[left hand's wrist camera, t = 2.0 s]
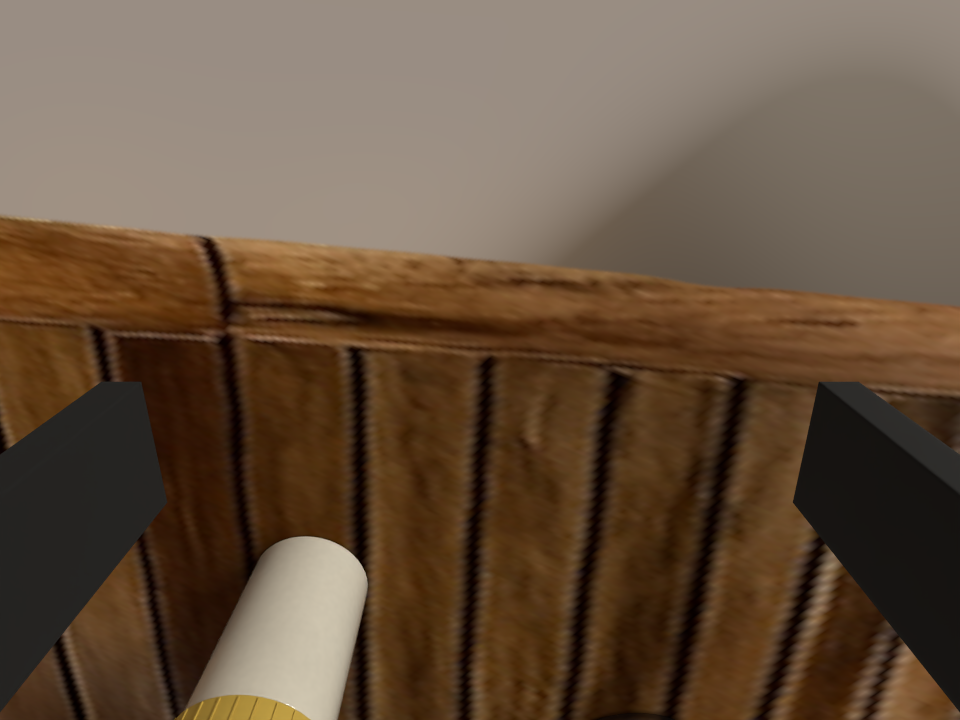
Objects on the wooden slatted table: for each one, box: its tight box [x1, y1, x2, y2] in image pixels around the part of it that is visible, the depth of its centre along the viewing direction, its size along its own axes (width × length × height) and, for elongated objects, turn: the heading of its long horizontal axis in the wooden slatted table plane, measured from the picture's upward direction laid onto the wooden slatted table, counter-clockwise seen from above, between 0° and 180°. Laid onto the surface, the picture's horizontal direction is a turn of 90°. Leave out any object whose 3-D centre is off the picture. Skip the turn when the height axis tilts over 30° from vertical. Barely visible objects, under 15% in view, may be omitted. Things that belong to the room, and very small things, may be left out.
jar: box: [184, 536, 368, 720], centre depth 41 cm, size 9×9×16 cm
